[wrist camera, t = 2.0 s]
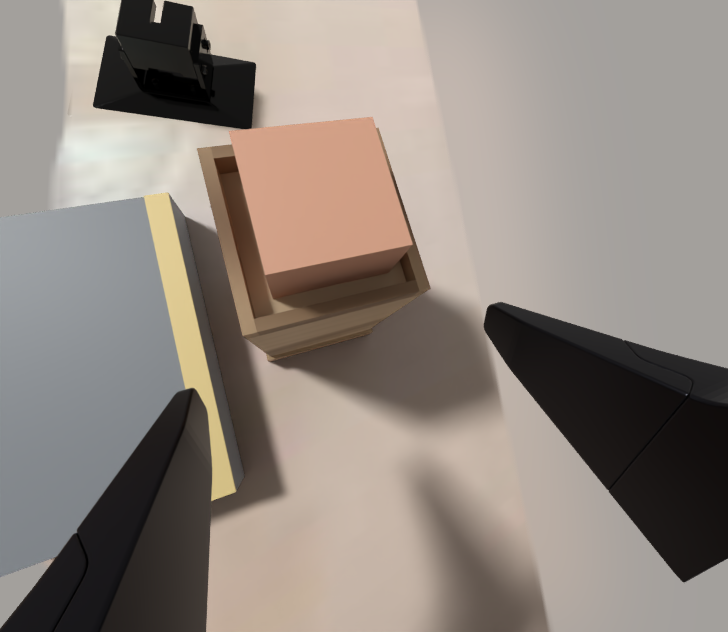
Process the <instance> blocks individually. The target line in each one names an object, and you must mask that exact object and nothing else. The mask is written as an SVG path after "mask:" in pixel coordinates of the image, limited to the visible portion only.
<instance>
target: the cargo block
mask: <svg viewBox="0 0 728 632" xmlns="http://www.w3.org/2000/svg"><path fill="white" fill-rule="evenodd" d="M229 134H230V138H231V142H232V146H233V150H234V154H235V158H236V162H237V166H238V169H239V173H240V177H241V181H242V185H243V189H244V193H245V197H246V201H247V205H248V209H249V213H250V217H251V221H252V225H253V229H254V233H255V237H256V241H257V245H258V249H259V253H260V257H261V261H262V265H263V269H264V273H265V276H266V279H267V282H268V286H269V289H270V292H271V295H272V298H273V299H275V298H279V297H284V296H288V295H293V294H297V293H302V292H306V291H310V290H315V289H319V288H324V287H328V286H333V285H337V284H342V283H346V282H350V281H355V280H359V279H364V278H368V277H373V276H377V275H381V274H386V273H389V272H390V270H391V269H392V268H393V267H394V266H395V265H396V263H397V262H398V261H399V260H400V259H401V258H402V257H403V255H404V254H405V253H406V252H407V251H408V250H409V248H410V247H411V246H412V245H413V243H412V240H411V237H410V234H409V231H408V228H407V224H406V221H405V218H404V215H403V212H402V209H401V206H400V202H399V199H398V196H397V193H396V190H395V187H394V183H393V180H392V177H391V174H390V171H389V168H388V165H387V161H386V158H385V155H384V152H383V149H382V146H381V142H380V139H379V136H378V133H377V130H376V127H375V124H374V120H373V117H367V118H357V119H346V120H336V121H326V122H316V123H306V124H296V125H285V126H275V127H265V128H255V129H245V130H235V131H229Z"/></svg>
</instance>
